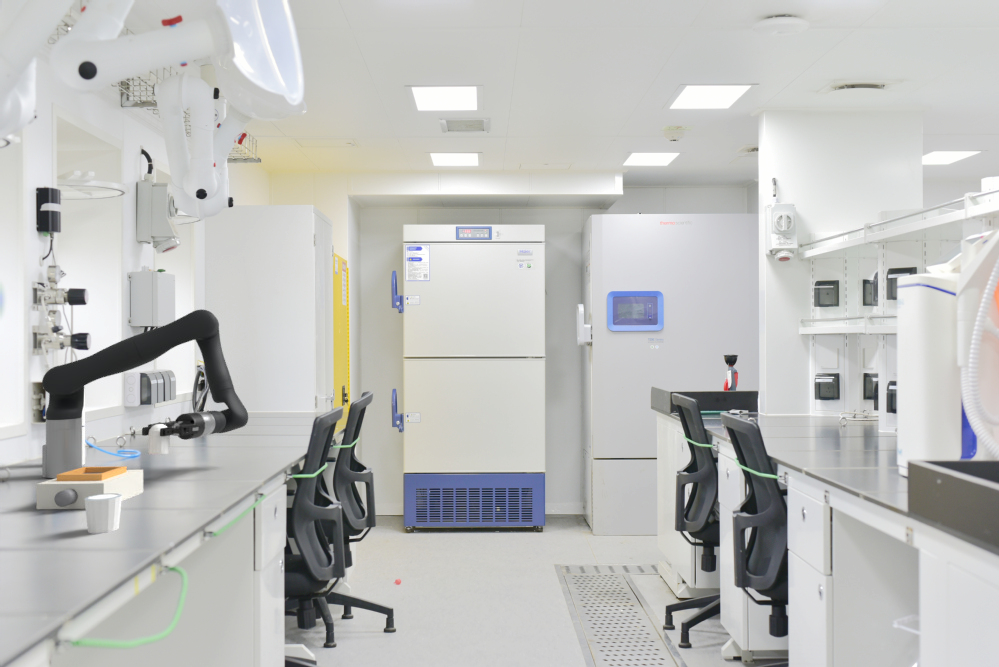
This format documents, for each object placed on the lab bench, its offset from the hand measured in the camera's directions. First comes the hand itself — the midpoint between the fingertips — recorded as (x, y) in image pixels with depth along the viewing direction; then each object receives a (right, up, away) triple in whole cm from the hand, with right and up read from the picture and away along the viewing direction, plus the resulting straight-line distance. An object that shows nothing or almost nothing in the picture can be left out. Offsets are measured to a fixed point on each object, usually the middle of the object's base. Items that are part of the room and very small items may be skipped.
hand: (152, 432), depth 185 cm
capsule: (+1, -6, +2) cm, 7 cm away
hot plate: (-8, -15, -15) cm, 23 cm away
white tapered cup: (+11, -15, -42) cm, 46 cm away
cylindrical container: (-47, -17, +40) cm, 64 cm away
